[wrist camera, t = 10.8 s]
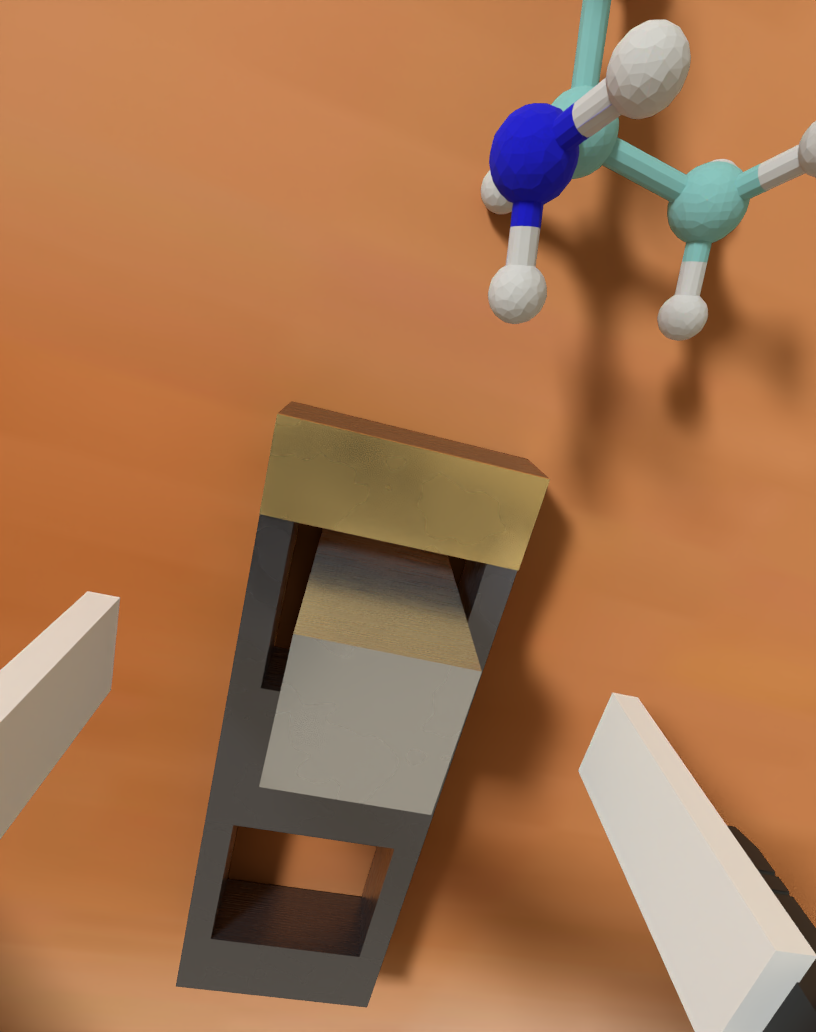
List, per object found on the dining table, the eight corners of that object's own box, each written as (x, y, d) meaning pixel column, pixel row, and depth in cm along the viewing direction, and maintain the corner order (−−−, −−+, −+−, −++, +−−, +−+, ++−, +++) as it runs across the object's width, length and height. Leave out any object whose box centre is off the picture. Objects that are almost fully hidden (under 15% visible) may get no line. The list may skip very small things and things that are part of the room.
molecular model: (1026, 61, 12) (1395, -152, 5) (661, 352, 19) (581, 452, 11) (690, -315, 13) (558, -1074, 5) (440, 99, 19) (216, 32, 11)
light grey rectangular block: (298, 638, 20) (259, 786, 14) (323, 527, 19) (293, 633, 12) (415, 661, 21) (430, 815, 14) (447, 555, 20) (481, 671, 13)
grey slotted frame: (195, 923, 25) (175, 988, 22) (291, 401, 18) (277, 413, 15) (368, 945, 26) (367, 1010, 23) (527, 459, 19) (550, 479, 16)
